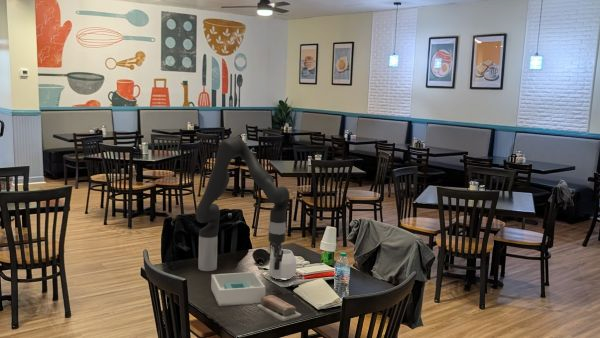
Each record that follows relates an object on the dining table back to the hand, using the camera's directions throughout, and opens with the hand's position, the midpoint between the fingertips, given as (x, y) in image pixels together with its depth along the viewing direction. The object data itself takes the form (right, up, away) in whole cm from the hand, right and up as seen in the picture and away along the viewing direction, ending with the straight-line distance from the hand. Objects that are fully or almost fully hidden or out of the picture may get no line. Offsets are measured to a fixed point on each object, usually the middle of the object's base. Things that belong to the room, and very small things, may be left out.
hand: (275, 267), depth 248 cm
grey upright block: (0, -3, +1) cm, 3 cm away
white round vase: (+2, -9, +21) cm, 23 cm away
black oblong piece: (-8, -5, +46) cm, 47 cm away
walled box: (-17, -12, -4) cm, 21 cm away
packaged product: (+2, -15, -19) cm, 24 cm away
